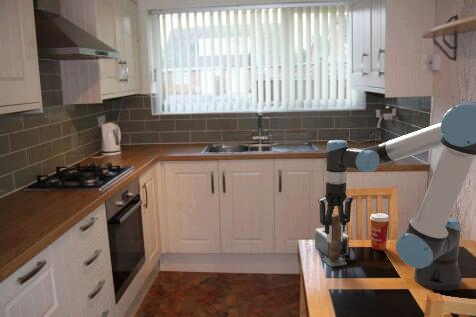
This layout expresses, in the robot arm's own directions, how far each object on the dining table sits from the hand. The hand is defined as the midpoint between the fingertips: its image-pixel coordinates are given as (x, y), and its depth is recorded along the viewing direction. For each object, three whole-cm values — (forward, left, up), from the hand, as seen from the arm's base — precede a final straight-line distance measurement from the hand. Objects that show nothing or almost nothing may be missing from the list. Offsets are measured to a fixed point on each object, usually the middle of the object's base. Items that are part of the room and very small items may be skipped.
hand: (334, 240), depth 168 cm
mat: (0, 0, -9) cm, 9 cm away
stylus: (0, 0, -7) cm, 7 cm away
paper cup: (-24, -7, -9) cm, 27 cm away
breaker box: (-4, -10, -9) cm, 14 cm away
